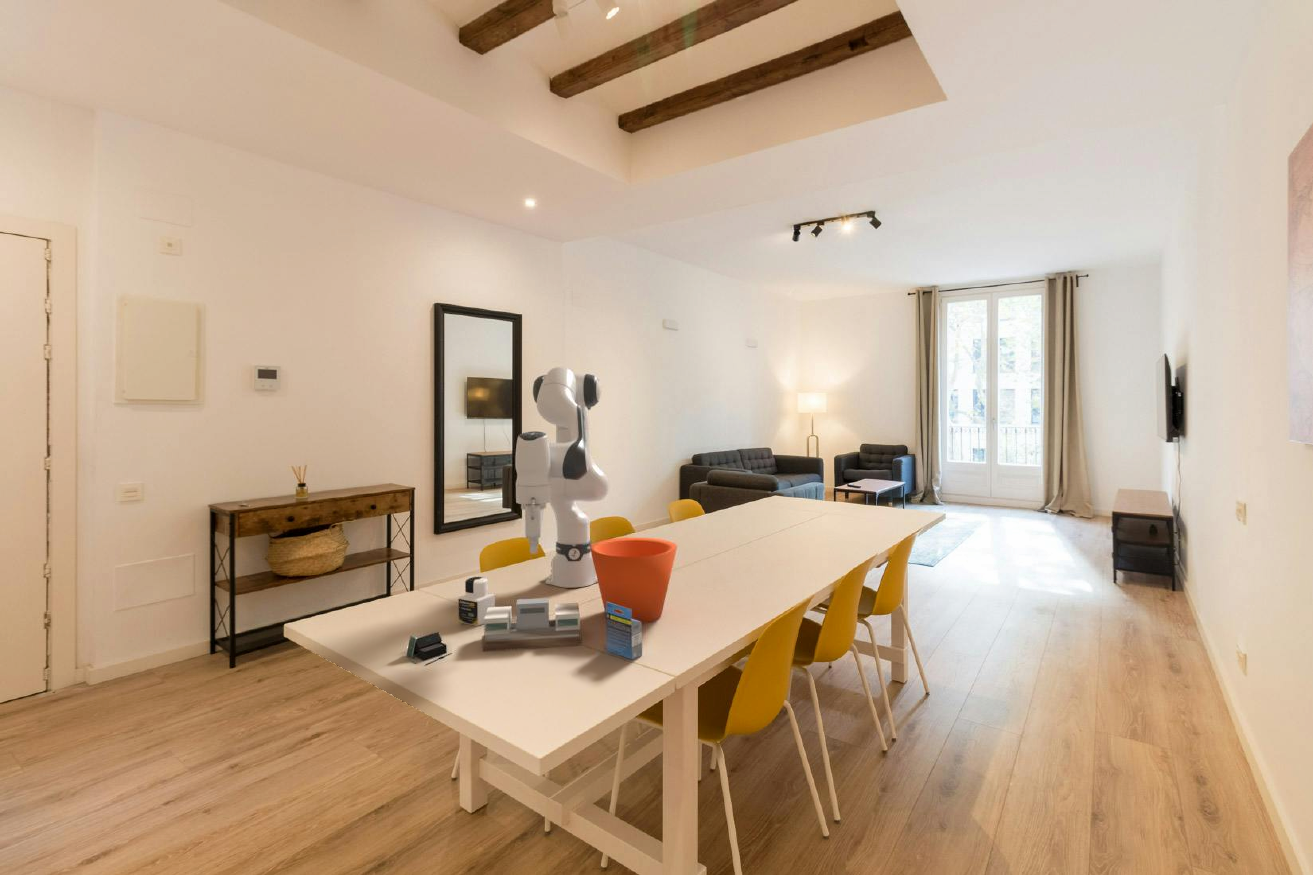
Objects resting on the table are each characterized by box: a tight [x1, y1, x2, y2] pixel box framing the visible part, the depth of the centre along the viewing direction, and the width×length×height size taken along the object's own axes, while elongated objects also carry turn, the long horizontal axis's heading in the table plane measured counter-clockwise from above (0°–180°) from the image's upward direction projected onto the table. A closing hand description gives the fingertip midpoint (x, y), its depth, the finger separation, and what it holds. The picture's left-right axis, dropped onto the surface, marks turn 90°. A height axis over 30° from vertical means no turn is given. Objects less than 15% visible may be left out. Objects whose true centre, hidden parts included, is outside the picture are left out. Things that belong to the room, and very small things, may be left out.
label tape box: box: [605, 602, 643, 661], centre depth 150 cm, size 9×4×12 cm, turn 49°
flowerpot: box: [590, 536, 678, 624], centre depth 178 cm, size 25×25×20 cm
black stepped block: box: [405, 631, 453, 667], centre depth 150 cm, size 15×15×6 cm
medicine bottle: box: [457, 576, 496, 627], centre depth 173 cm, size 7×7×12 cm
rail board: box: [481, 602, 582, 652], centre depth 159 cm, size 12×24×8 cm, turn 99°
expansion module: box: [515, 597, 550, 631], centre depth 158 cm, size 4×8×8 cm, turn 100°
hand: (534, 548), depth 159 cm, fingers open, 8 cm apart
